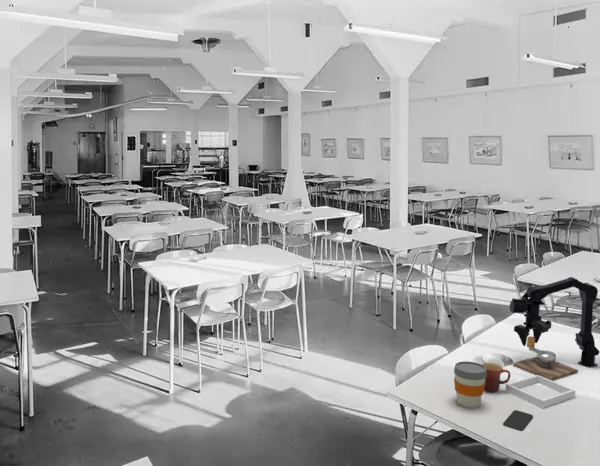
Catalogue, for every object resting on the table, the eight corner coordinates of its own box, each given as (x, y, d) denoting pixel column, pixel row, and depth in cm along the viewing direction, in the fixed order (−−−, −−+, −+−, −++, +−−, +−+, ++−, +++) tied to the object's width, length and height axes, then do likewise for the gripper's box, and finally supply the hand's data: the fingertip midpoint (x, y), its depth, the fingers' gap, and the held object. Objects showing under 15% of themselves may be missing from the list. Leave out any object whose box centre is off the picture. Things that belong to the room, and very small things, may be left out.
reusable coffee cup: (480, 412, 212) (482, 376, 210) (448, 404, 219) (450, 368, 217) (487, 400, 223) (490, 365, 221) (457, 392, 229) (459, 358, 227)
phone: (501, 424, 203) (514, 409, 214) (501, 426, 203) (514, 411, 215) (522, 430, 198) (534, 415, 210) (522, 432, 198) (534, 417, 210)
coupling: (522, 353, 263) (523, 337, 262) (533, 351, 267) (535, 335, 266) (547, 363, 251) (548, 347, 249) (559, 361, 254) (560, 344, 253)
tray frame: (536, 381, 243) (537, 374, 242) (574, 397, 228) (575, 390, 227) (505, 390, 232) (505, 384, 232) (542, 408, 217) (543, 401, 216)
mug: (479, 391, 231) (480, 368, 229) (479, 383, 239) (481, 361, 238) (509, 396, 227) (511, 373, 225) (508, 388, 235) (510, 365, 234)
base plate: (539, 358, 270) (540, 349, 270) (577, 372, 253) (578, 363, 252) (513, 365, 260) (513, 356, 259) (550, 381, 243) (551, 371, 242)
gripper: (534, 320, 249) (532, 353, 251) (560, 314, 258) (557, 346, 261) (514, 314, 259) (511, 345, 261) (539, 308, 268) (536, 339, 270)
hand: (530, 344), depth 263 cm, fingers open, 8 cm apart
